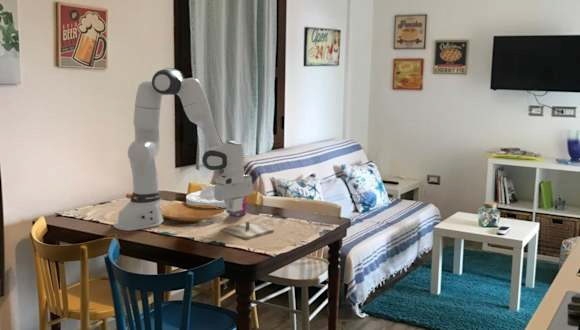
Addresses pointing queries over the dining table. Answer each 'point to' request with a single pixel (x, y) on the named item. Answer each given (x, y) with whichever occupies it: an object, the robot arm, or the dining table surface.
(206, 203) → the cake
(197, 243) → the dining table surface
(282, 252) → the dining table surface
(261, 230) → the pin board
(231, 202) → the sleeve
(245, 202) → the supplement box
